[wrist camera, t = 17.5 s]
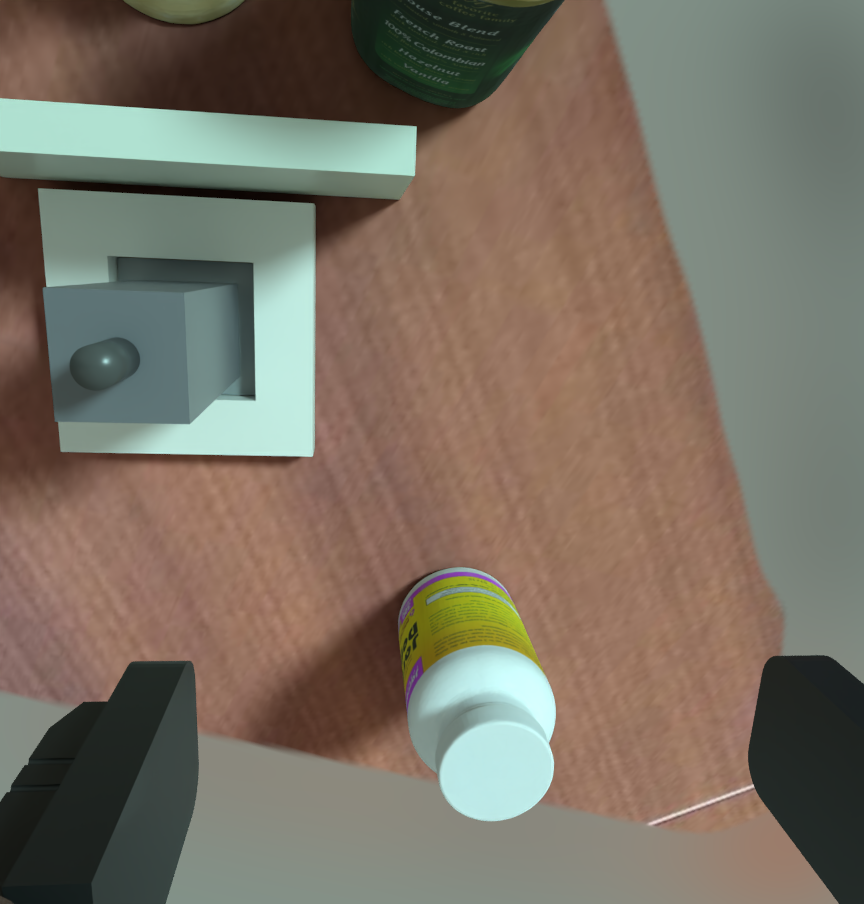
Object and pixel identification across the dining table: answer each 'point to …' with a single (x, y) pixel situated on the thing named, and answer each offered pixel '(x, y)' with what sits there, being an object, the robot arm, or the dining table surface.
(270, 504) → the dining table surface
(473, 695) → the supplement bottle
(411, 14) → the coffee jar
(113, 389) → the plug
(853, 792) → the robot arm
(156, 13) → the hand bell
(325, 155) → the socket
